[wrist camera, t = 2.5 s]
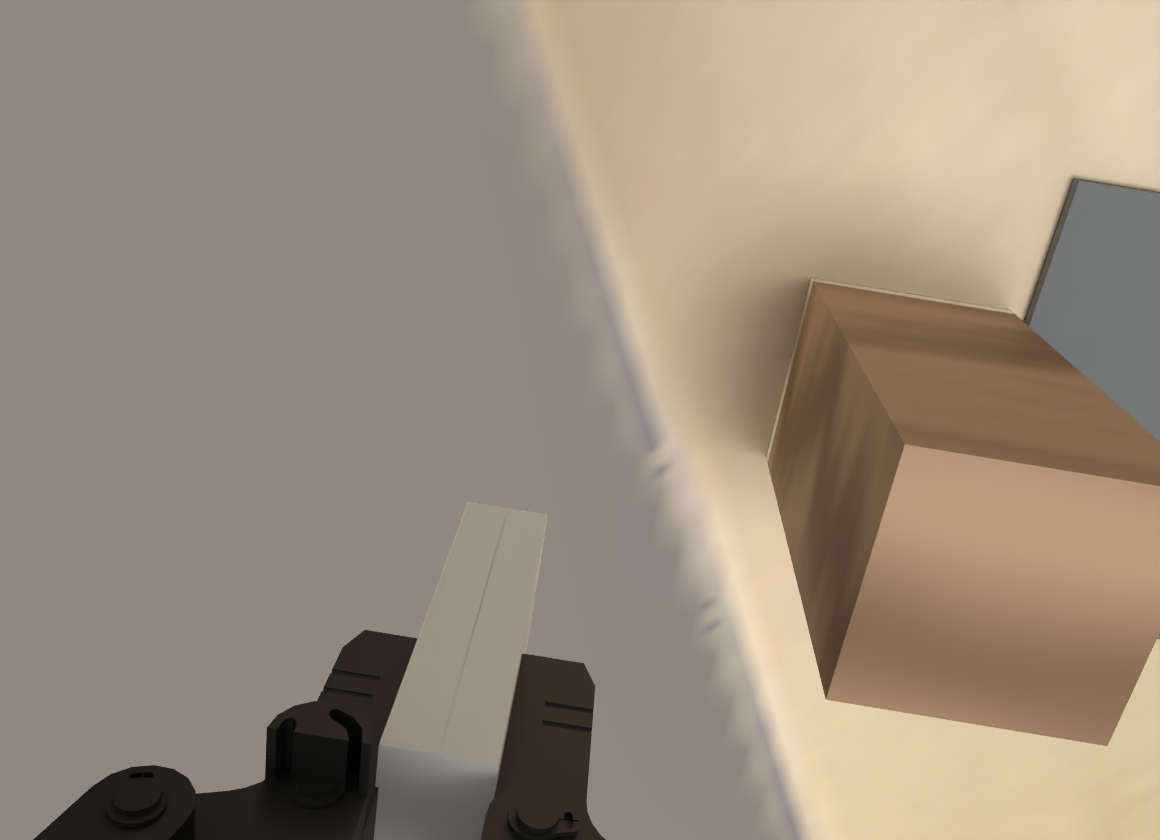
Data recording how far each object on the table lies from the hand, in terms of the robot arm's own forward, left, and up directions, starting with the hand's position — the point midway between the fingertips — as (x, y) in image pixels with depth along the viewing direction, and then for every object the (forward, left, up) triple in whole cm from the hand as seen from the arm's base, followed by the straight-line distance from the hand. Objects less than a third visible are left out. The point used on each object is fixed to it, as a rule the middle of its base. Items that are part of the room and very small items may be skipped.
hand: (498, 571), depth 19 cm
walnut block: (0, +10, -13) cm, 17 cm away
